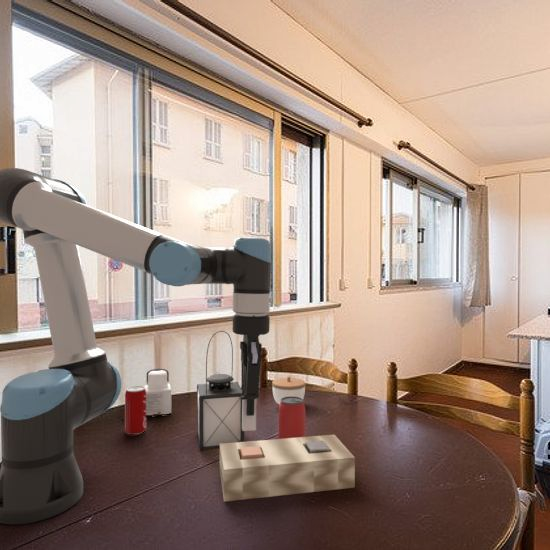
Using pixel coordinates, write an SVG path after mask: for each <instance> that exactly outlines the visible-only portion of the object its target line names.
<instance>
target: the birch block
mask: <svg viewBox="0 0 550 550" xmlns="http://www.w3.org/2000/svg"><path fill="white" fill-rule="evenodd" d="M312 441H324V442H325V444H326V445H327V446H328V447H329V452H321V453H310V454H309V453H308V452H307V450H306V448H305V442H312ZM252 446H260V449H261V452H262V454H263V458H254V459H242V460H240V447H252ZM355 465H356V457H355V456H354V455H353V454H352V452H350V450H349V449H348V448H347V447H346V445H344V444H343V443H342V441H341V440H340V439H339V438H338V437H337V436H336V434H324V435H312V436H311V435H310V436H305V437H297V438H285V439H279V438H276V439H274V438H273V439H264V440H247V441H244V442H235V443H223V444H220V449H219V477H220V484H221V490H222V497H223V502H233V501H241V500H251V499H252V500H253V499H260V498H271V497H278V496H288V495H289V496H290V495H296V494H307V493H316V492H324V491H326V492H327V491H333V490H343V489H344V490H345V489H354V488H355V487H356V485H355V483H356V481H355V480H356V475H355V474H356V469H355V468H356V466H355Z"/></svg>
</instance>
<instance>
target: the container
mask: <svg viewBox="0 0 550 550" xmlns="http://www.w3.org/2000/svg"><path fill="white" fill-rule="evenodd" d="M169 374H170V373H169V371H168V369H165V368H154V369H149V370H148V371H147V372H146V385H144V387H145V389H146V415H153V414H169V413H171V414H172V389H171V388H172V387H171V383H169V382H170V379H169V378H170V377H169Z"/></svg>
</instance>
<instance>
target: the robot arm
mask: <svg viewBox="0 0 550 550" xmlns="http://www.w3.org/2000/svg"><path fill="white" fill-rule="evenodd" d="M0 222H1V223H3V224H4V225H5V224H6V225H9V226H13V227H15V228H18V229H21V230H22V233H23V238H24V242H25V243H26V244H27V245H29V246H31V247H32V248H33V249H34V252H35V258H36V259H35V260H36V264H37V269H38V274H39V280H40V286H41V290H42V296H43V300H44V307H45V312H46V316H47V323H48V326H49V333H50V338H51V343H52V347H53V348H52V349H53V353H54V357H53V359H51V361H50V362H49V364H48V365H47V366H48V368H47V369H46V368H45V369H40V370H38V371H32V372H31V371H30V372H27V373H24V374H21V375H19V376H17V377H15V378H13V379H12V380H10V381H9V382H8V383H7V384H6V385H5V386H4V387H3V389H2V392H1V402H0V403H1V404H0V425H1V426H0V431H1V433H0V436H1V438H0V440H1V445H0V446H1V467H0V524H3V525H25V524H32V523H35V522H37V523H38V522H41V521H44V520H47V519H50V518H53V517H55V516H57V515H59V514H62V513H64V512H65V511H67V510H69V509H71V508H72V507H74V505H76V504H77V503H78V502H79V501H80V500H81V499H82V496H83V495H84V480H83V479H84V478H83V476H82V473H81V470H80V467H79V465H78V463H77V460H76V457H75V454H74V430H75V429H76V428H79V427H80V426H82V425H84V424H86V423H87V422H89V421H91V420H92V419H94V418H97V417H100V416H101V415H102V414H103V415H104V413H105V412H107V411H108V409H111V407H112V406H114V404H115V403H116V401H117V400H118V399H119V396H120V394H121V391H122V378H121V375H120V372H119V370H118V368H117V367H116V366H113V363H112V362H110V361H108V358H107V357H108V356H107V352H106V351H104V350H103V349H101V348H100V347H99V346H98V345H97V339H96V333H95V329H94V324H93V318H92V313H91V309H90V308H91V307H90V303H89V297H88V292H87V287H86V281H85V276H84V272H83V266H82V262H81V256H80V250H79V247H81V248H84V249H85V250H89V251H91V252H95V253H97V254H99V255H101V256H104V257H107V258H109V259H111V260H115V261H117V262H119V263H122V264H124V265H127V266H129V267H132V268H134V269H137V270H140V271H142V272H145V273H146V274H148V275H151V276H153V277H154V278H155V279H156V280H157V281H158V282H160V283H161V284H162V285H163V284H164V285H167V286H172V287H183V286H189V285H190V286H191V285H205V284H209V285H215V284H216V285H218V284H219V285H224V284H225V285H233V292H232V312H233V313H235V314H233V316H232V332H233V333H234V334H235V335H240V336H243V337H242V341H240V342H239V348H240V351H241V352H240V362H241V367H240V368H241V370H240V371H241V375H240V376H241V378H240V379H241V385H240V387H241V389H242V394H243V396H240V397H241V400H242V431H244V432H246V431H247V432H249V431H250V432H251V431H257V403H258V402H257V399H259V397H260V394H259V391H260V378H261V377H260V376H261V364H262V358H263V354H262V349H263V347H262V346H263V344H262V343H260V338H259V336H263V335H267V334H268V333H269V332H270V324H271V323H270V321H271V320H270V316H269V314H268V313H269V312H270V310H271V309H270V303H273V300H274V299H273V297H271V277H272V274H271V273H272V272H271V270H272V255H271V254H272V252H271V242H270V241H269V240H268V239H267V238H260V237H237V238H235V239H234V244H233V246H232V247H210V246H209V247H208V246H203V245H202V246H201V245H196V244H191V243H188V242H185V241H182V240H179V239H177V238H174V237H171V236H169V235H166V234H162V233H160V232H158V231H155V230H152V229H150V228H148V227H145V226H143V225H139V224H137V223H134V222H131V221H129V220H126V219H123V218H121V217H119V216H115V215H114V214H111V213H108V212H105V211H103V210H100V209H97V208H95V207H92V206H90V205H88V203H87V200H86V198H85V196H84V195H83V193H81V191H79V189H77V188H76V187H75V186H73V185H70V183H67V182H65V181H63V180H59V179H55V178H50V177H47V176H46V175H42V174H39V173H36V172H33V171H30V170H27V169H23V168H19V167H8V168H7V167H6V168H2V169H0Z"/></svg>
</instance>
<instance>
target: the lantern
mask: <svg viewBox="0 0 550 550" xmlns="http://www.w3.org/2000/svg"><path fill="white" fill-rule="evenodd" d="M221 332H222V333H225V334H227V335H228V337H229V340H230V343H231V372H233V370H234V369H233V363H234V353H233V352H234V349H233V342H232V338H231V336H230V334H229V333H228V332H227V331H224V330H219V331H216V332H215V333H214V334H213V335H212V336H211V338H210V339H209V342H208V345H207V350H206V355H208V353H209V347H210V343H211V342H212V339H213V337H214V336H215V335H216V334H218V333H221ZM205 358H206V360H205V361H206V362H205V383H197V386H196V404H197V405H196V434H197V438H198V439H197V440H198V450H199V452H203V451H212V450H220V444H223V443H235V442H245V431H242V400H241V397H240V396H243V394H242V391H243V390H242V389H241V385H240V384H239V382H238V381H234V377H233V376H232V375H229V374H227V373H217V374H211V375H209V376H208V356H205Z"/></svg>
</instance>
